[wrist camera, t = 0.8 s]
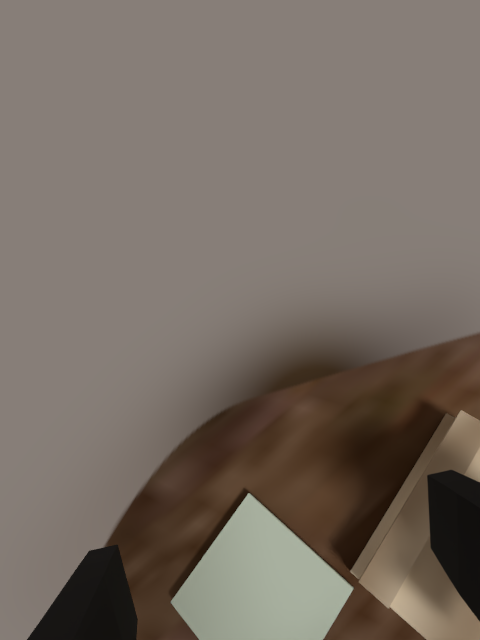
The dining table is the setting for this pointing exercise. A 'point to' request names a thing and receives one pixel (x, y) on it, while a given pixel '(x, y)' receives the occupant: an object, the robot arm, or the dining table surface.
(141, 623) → the dining table surface
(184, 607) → the mat
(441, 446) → the cradle
